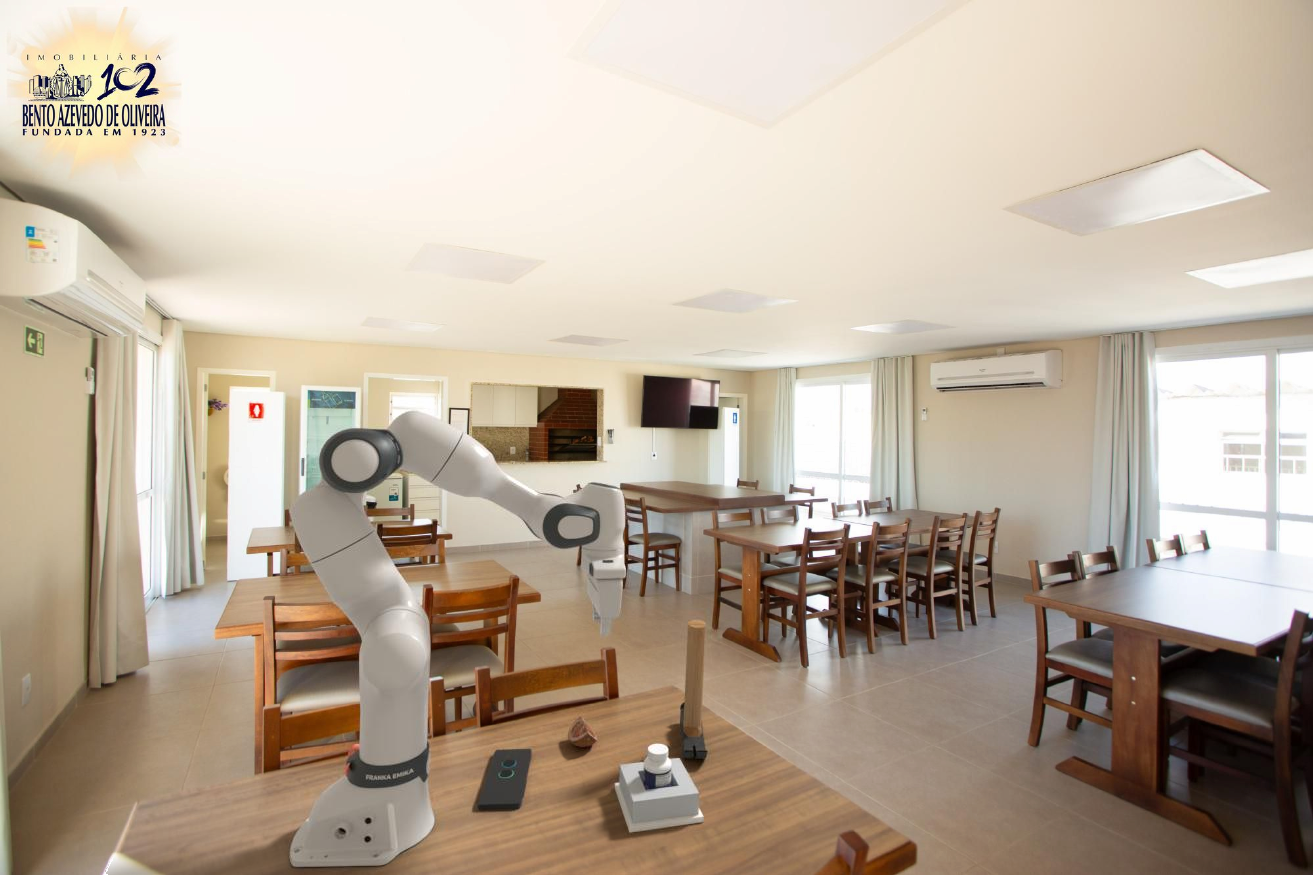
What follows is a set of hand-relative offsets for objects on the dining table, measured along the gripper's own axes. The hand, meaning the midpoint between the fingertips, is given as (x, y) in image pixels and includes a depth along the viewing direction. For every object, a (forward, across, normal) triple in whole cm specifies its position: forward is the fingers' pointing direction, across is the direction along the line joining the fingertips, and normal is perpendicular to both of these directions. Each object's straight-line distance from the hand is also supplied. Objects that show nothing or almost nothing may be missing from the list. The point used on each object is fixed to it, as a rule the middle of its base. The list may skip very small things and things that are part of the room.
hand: (601, 628), depth 124 cm
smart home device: (+32, -4, -18) cm, 37 cm away
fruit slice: (+31, -14, -1) cm, 34 cm away
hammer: (+31, -10, +24) cm, 41 cm away
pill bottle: (+30, +11, +10) cm, 34 cm away
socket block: (+31, +11, +10) cm, 34 cm away
